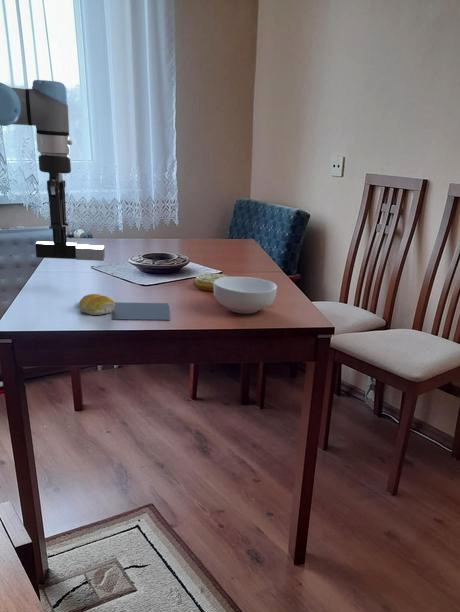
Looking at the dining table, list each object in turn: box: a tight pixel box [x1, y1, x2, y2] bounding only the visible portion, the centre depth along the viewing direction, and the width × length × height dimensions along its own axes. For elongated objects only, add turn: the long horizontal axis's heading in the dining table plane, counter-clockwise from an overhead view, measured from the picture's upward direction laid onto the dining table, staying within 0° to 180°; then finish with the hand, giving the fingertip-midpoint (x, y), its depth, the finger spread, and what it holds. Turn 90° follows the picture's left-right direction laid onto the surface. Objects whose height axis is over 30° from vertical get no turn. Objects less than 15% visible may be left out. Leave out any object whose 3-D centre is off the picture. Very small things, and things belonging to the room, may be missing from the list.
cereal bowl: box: [213, 276, 278, 315], centre depth 146 cm, size 17×17×7 cm
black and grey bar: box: [34, 240, 106, 262], centre depth 144 cm, size 17×4×4 cm, turn 98°
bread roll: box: [78, 293, 115, 316], centre depth 139 cm, size 8×9×4 cm
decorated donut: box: [194, 272, 229, 292], centre depth 165 cm, size 10×11×4 cm
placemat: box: [111, 301, 171, 321], centre depth 141 cm, size 14×14×1 cm
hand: (60, 253), depth 144 cm, fingers closed on black and grey bar, 3 cm apart
